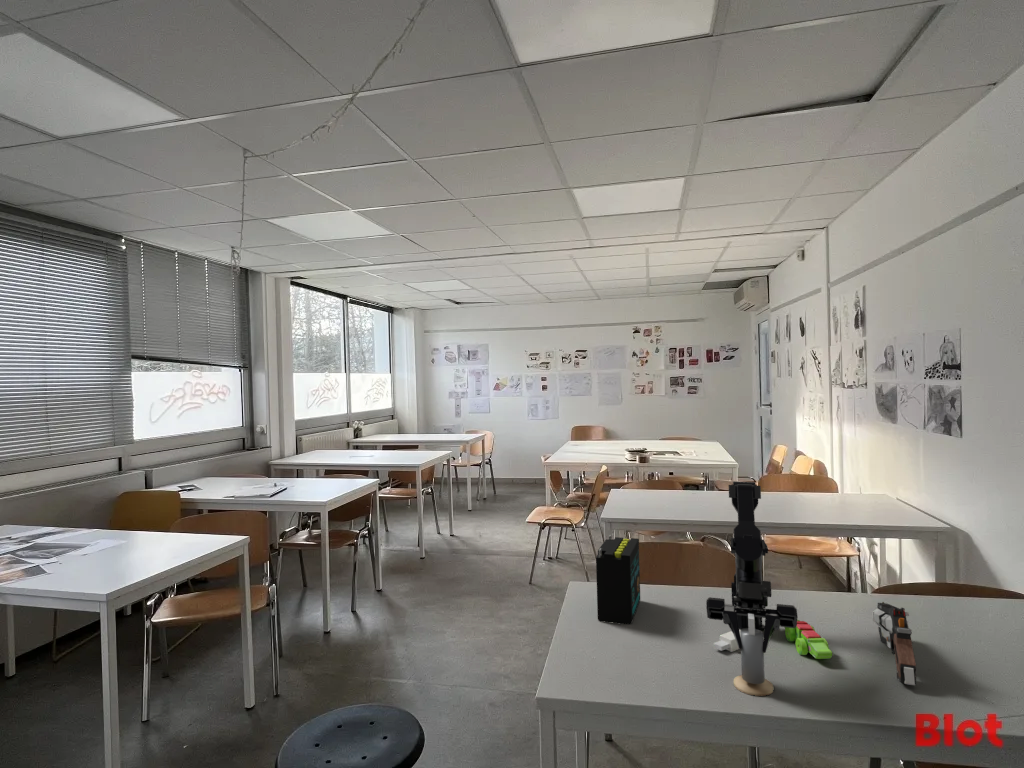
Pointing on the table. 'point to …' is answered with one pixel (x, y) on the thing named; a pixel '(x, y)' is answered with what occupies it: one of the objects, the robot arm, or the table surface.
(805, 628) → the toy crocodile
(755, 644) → the grey plug
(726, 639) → the small lying plug
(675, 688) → the table surface
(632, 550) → the battery
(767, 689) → the cork coaster
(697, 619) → the table surface
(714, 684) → the table surface
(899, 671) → the toy gun
